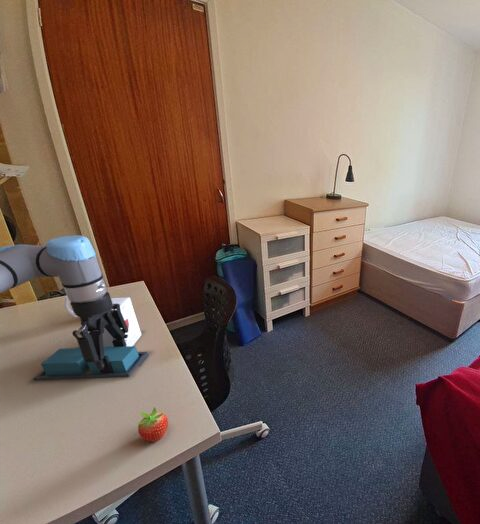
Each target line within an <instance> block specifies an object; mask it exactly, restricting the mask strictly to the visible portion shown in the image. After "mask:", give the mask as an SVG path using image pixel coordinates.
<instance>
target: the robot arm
mask: <svg viewBox="0 0 480 524" xmlns="http://www.w3.org/2000/svg"><path fill="white" fill-rule="evenodd" d="M57 277H58V278H59V281H60V282H61V285H62V287H63V288H62V289H63V290H64V293H65V294H66V297H68V300H69V301H70V303H69V305H70V307H71V310H72V311H74V313H75V315H77V316H78V317H77V318H79V319H80V327H79V328H78V329H75V330H73V331H72V333H71V334H72V336H73V337H74V338H75V339H76V341H77V343H78V344H77V345H78V346H79V347H78V348H80V350H81V353H82V355H83V358H84V361H85V363H95V365H96V367H97V369H98V370H100V372H101V374H106V373H114V371H113V368H112V366H111V363H110V361H109V358H108V356H104V346H103V335H102V334H103V333H104V328H105V329H106V330H107V331H108V332H109V333H110V335H111V336H112V337H113V338H114V339H116V340H113V341H112V343H113V345H114V347H125V346H126V342H125V339H124V338H127V337H128V334H127V335H125V333H127V332H128V328H127V325H126V323H125V320H124V318H123V316H122V313H121V311H120V304H112V300H111V294H110V292H108V288H107V284H106V282H105V279H104V275H103V274H102V270H101V267H100V264H99V261H98V258H97V254H96V251H95V249H94V248H93V245H92V243H91V241H90V240H89V238H88V237H86V236H83V235H77V234H75V235H65V236H59V237H55V238H52V239H50V240H48V241H47V242H46V243H45V245H40V244H39V245H38V244H37V245H36V244H35V245H34V244H21V243H19V244H13V245H4V246H1V247H0V294H3V293H4V292H6V291H9V290H11V289H14V288H16V287H19V286H21V285H23V284H25V283H28V282H30V281H32V280H34V279H36V278H57ZM121 328H123V329H121ZM95 330H98V331H95Z"/></svg>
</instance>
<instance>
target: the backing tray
mask: <svg viewBox="0 0 480 524" xmlns="http://www.w3.org/2000/svg"><path fill="white" fill-rule="evenodd" d="M137 352H138V355H139V359H138V361H137V362H136V363H135V364H134V365H133V366H132V367H131V368H130V369H129V371H128V372H127V373H106V374H92V373H88V374H87V373H84V374H83V375H59V376H47V375H46V373H45V371H44V369H43V370H42V371H40V372H39V373H38V374H37V375H36V376H34V377H33V378H32V380H33V382H38V381H39V382H40V381H62V380H63V381H64V380H65V381H66V380H87V379H108V378H109V379H110V378H129V377H131V376H132V374H133V373H134V372H135V371H136V370H137V368H138V367H141V366H142V365H143V364H144V362H145V361H146V360H147V359H148V358H149V353H148V351H137Z"/></svg>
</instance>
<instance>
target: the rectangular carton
mask: <svg viewBox="0 0 480 524" xmlns="http://www.w3.org/2000/svg"><path fill="white" fill-rule="evenodd" d="M111 300H112V304H120V311H121V313H122V316H123V318H124V320H125V323H126V325H127V328H128V332H127V333H125V335H127V334H128V337H127V338H124V339H125V342H126V346H135V344H136V343H137V342H138V340H140V338H141V336H142V332H141V328H140V325H139V322H138V319H137V316H136V315H137V314H136V313H135V309H134V307H133V303H132V300H131V297H114V298H113V297H112V298H111ZM121 329H123V328H121ZM95 331H98V330H95ZM102 335H103V346H104V347H114V345H113V343H112V341H113V340H116V339H114V338H113V337H112V336H111V335H110V333H109V332H108V331H107V330H106V329H105V328H104V333H103V334H102Z"/></svg>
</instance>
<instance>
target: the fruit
mask: <svg viewBox="0 0 480 524" xmlns="http://www.w3.org/2000/svg"><path fill="white" fill-rule="evenodd" d="M141 417H142V419H141V421H140V422H138V423H136V424H137V425H138V427H137V431H138V434H139V436H140V437H141V438H142V439H143V440H145V441H147V442H157V441H160V440H161V439H163V438H164V436H165V434H166V433H167V431H168V427H169V419H168V416H167V415H166V414H165V413H162V412H158V411H157V409H156V406H154V407H153V409H152V410H151V413H147V412H146V413H145V412H143V411H141Z"/></svg>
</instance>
